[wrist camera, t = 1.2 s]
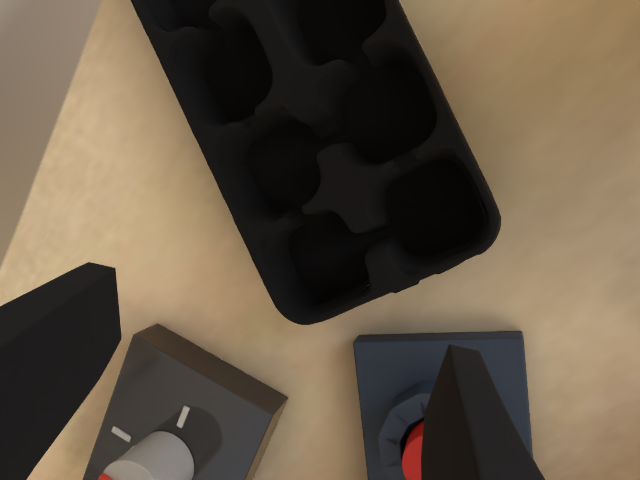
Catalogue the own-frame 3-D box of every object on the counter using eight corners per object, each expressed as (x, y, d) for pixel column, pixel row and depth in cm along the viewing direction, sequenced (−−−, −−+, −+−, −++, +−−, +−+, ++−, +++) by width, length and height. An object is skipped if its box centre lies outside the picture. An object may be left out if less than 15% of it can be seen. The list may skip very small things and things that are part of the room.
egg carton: (335, 348, 32) (317, 370, 29) (54, -34, 35) (4, -57, 31) (604, 160, 27) (622, 159, 23) (248, -276, 29) (214, -338, 26)
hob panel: (218, 557, 36) (197, 587, 34) (100, 479, 39) (72, 502, 36) (288, 397, 33) (272, 416, 31) (157, 322, 36) (131, 334, 33)
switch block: (537, 523, 30) (542, 563, 27) (377, 511, 33) (366, 547, 30) (522, 330, 29) (526, 349, 26) (358, 334, 32) (344, 352, 29)
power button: (480, 485, 28) (479, 505, 26) (410, 481, 29) (405, 500, 27) (474, 418, 27) (473, 434, 26) (403, 417, 29) (398, 432, 27)
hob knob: (203, 452, 33) (167, 488, 29) (182, 504, 34) (144, 545, 30) (149, 419, 34) (107, 450, 30) (130, 470, 34) (87, 506, 31)
